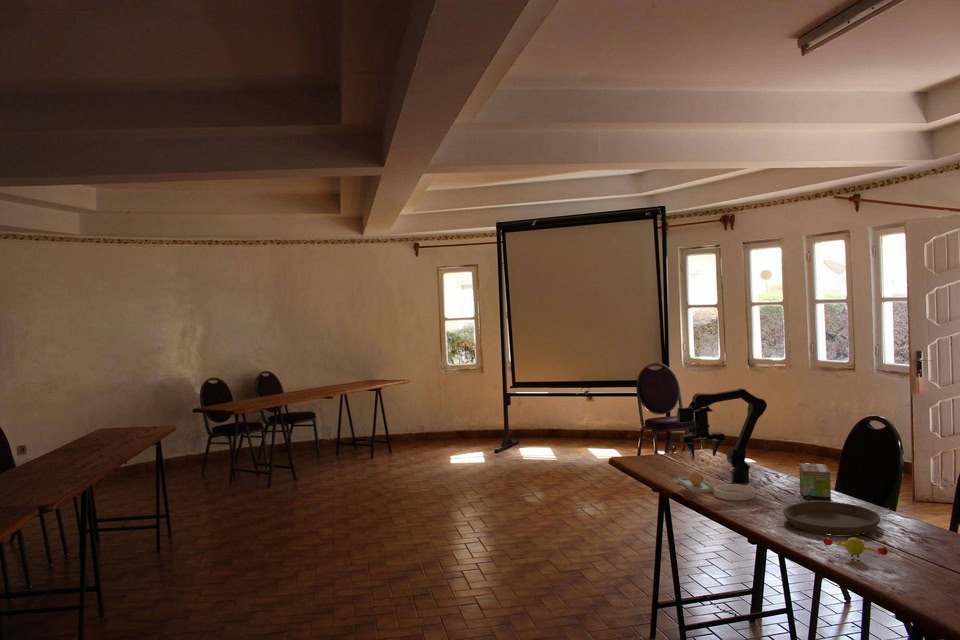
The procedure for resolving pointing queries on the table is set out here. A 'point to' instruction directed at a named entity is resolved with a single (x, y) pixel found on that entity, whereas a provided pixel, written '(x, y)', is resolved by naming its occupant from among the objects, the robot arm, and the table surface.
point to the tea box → (815, 483)
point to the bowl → (734, 492)
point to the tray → (700, 488)
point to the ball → (696, 478)
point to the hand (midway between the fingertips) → (703, 457)
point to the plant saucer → (831, 518)
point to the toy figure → (855, 546)
